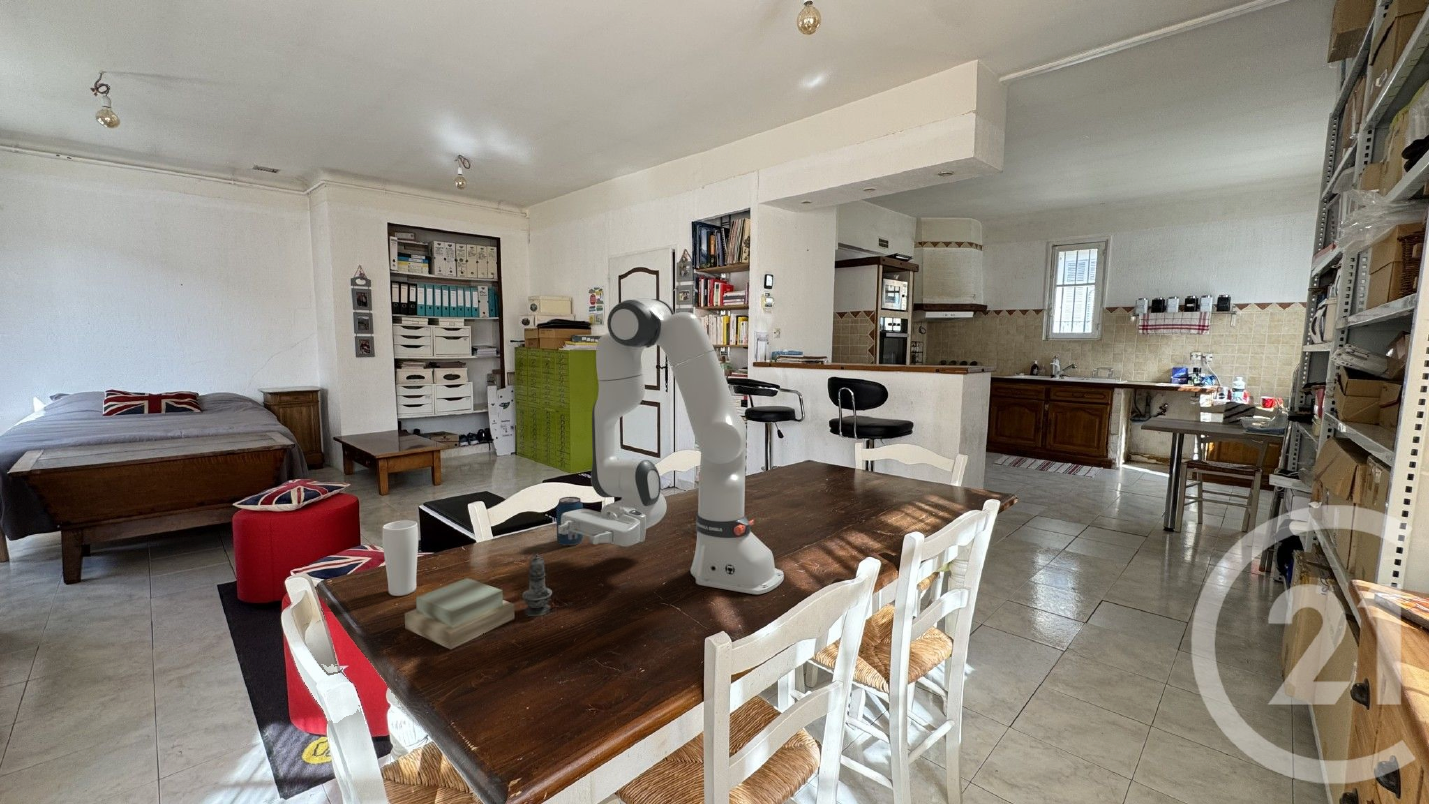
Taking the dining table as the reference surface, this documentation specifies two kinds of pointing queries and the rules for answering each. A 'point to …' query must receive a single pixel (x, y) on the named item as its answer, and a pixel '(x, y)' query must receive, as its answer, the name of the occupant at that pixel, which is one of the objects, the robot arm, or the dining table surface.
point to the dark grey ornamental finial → (537, 590)
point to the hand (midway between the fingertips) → (575, 535)
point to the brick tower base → (460, 630)
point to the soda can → (562, 507)
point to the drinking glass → (401, 556)
